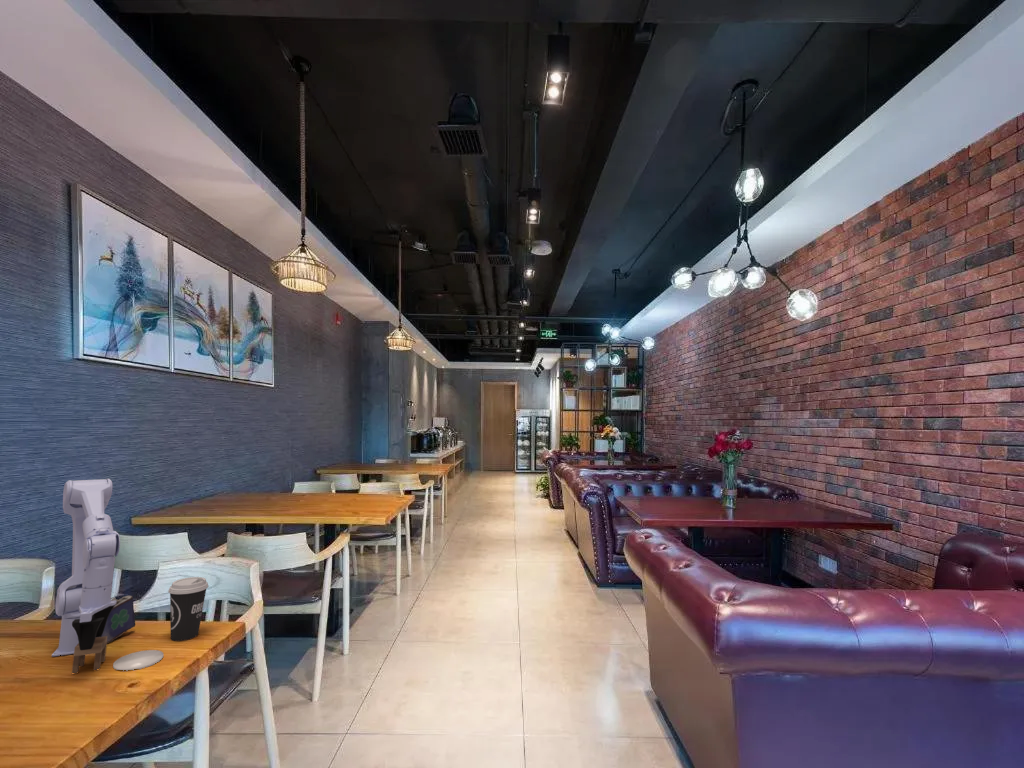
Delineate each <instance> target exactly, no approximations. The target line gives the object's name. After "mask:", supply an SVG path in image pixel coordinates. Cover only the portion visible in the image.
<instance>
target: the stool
mask: <svg viewBox="0 0 1024 768" xmlns="http://www.w3.org/2000/svg"><path fill="white" fill-rule="evenodd" d="M107 644H108V643H107V636H104V637H96V638H95V642H94V645H93V647H92V649H88V650H80V647H79V643H78V644H77V645H76V647H75V649H74V654H73V658H72V659H73V660H72V668H71V669H72V670H71V674H72V673H77V672H78V671H80V667H84V665H85V663H86V662H85V661H86V655H94V661H93V662H94V663H93V670H96V671H98V670H97V669H99V668H100V669H101V664H102V663H101V662H104V661H105V662H106V656H107V655H106V654H107ZM105 662H104V663H105ZM79 666H80V667H79ZM100 669H99V670H100ZM78 673H79V672H78ZM78 673H77V674H78Z"/></svg>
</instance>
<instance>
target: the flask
mask: <svg viewBox="0 0 1024 768" xmlns="http://www.w3.org/2000/svg"><path fill="white" fill-rule="evenodd" d="M114 600H116V601H117V602H116V604H115V606H114V608H113V609H112V611H111V613H110V615H109V617H108V619H107V622H106V625H105V629H104V632H103V634H102V636H101V637H104V636H107V644H109V643H111V642H113V641H114V640H116V639H117V638H119V637H121V636H122V635H124V633H127V632H128V631H129V630H132V628H135V626H136V625H137V624H136V615H135V609H134V608H135V605H134V597H133V595H125V596H123V597H121V598H119V599H118V598H117V599H116V597H115V596H113V597H112V596H111V601H114Z"/></svg>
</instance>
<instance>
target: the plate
mask: <svg viewBox="0 0 1024 768" xmlns="http://www.w3.org/2000/svg"><path fill="white" fill-rule="evenodd" d="M162 658H164V652H163V651H162V650H157V649H148V650H141V651H140V650H139V651H136V652H135V651H134V652H132V653H129V654H126V655H123V656H121V657H119V658H117V659H116V660H115V661H114V662H113V664H112V669H113V668H114V669H113V670H115V669H116V670H115V671H117V670H123V671H122V672H129V671H128V670H133V671H135V670H134V669H139V670H143V669H146V668H149V667H151V666H154V665H156V664H157V662H158V663H160V662H161V661H162V660H163V659H162ZM160 660H161V661H160ZM155 663H156V664H155ZM145 667H146V668H145ZM142 668H143V669H142ZM124 670H126V671H124Z"/></svg>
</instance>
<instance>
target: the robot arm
mask: <svg viewBox="0 0 1024 768" xmlns="http://www.w3.org/2000/svg"><path fill="white" fill-rule="evenodd" d="M62 493H63V494H62V509H63V513H64V514H65V515H69V516H70V517H71V520H72V554H71V555H72V556H71V557H72V558H71V563H72V564H71V576H70V577H69V578H67V579H66V580H63V582H62V583H60V584H59V587H58V588H57V590H56V598H55V614H56V615H57V616H58V617H61V621H60V622H61V623H60V633H59V641H58V647H57V648H56V650H54V652H53V653H52V654H51V657H59V656H60V655H61V656H67V655H74V649H75V647H76V645H77V644H78V643H79V647H80V650H88V649H92V647H93V645H94V642H95V638H96V637H101V636H102V634H103V632H104V629H105V625H106V622H107V619H108V617H109V615H110V613H111V611H112V609H113V608H114V606H115V604H116V602H117V601H116V600H114V601H111V600H112V599H111V598H112V590H113V581H114V580H113V579H114V571H115V561H116V558H115V557H118V555H119V553H120V547H121V541H120V540H121V539H120V534H119V533H118V532H117V531H116V530H114V527H113V522H112V518H111V516H110V515H108V514H106V513H105V510H106V509H107V506H109V505H108V504H109V502H110V499H111V498H112V495H113V481H112V480H111V479H110V478H105V479H103V478H102V479H100V478H99V479H87V480H86V479H79V480H72V479H70V480H69V479H68V480H67V481H66V482H65V483H64V486H63V492H62Z"/></svg>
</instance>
